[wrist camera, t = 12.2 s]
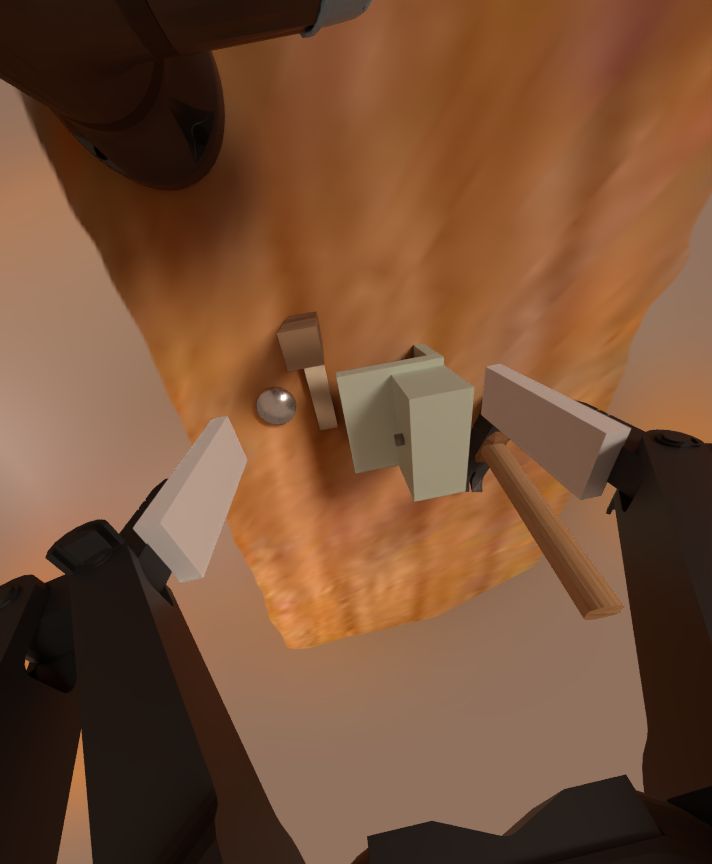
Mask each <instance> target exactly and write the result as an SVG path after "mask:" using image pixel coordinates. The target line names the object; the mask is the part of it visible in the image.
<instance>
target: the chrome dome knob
mask: <svg viewBox="0 0 712 864" xmlns="http://www.w3.org/2000/svg"><path fill="white" fill-rule="evenodd" d="M256 408H257V412H258V414H259V415H260V417H261V418H262V419H263V420H265V421H266V422H268V423H271V424H276V425H279V424H284V423H287V422H289V421H290V420H291V419H292V418H293V416H294V414H295V411H296V401H295V399H294V397H293V395H292V394H291V393H290V392H288V391H287V390H285V389H283V388H279V387H272V388H268V389H266V390H264V391H263V392H262V393H261V394H260V396H259V398H258V400H257V404H256Z"/></svg>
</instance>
